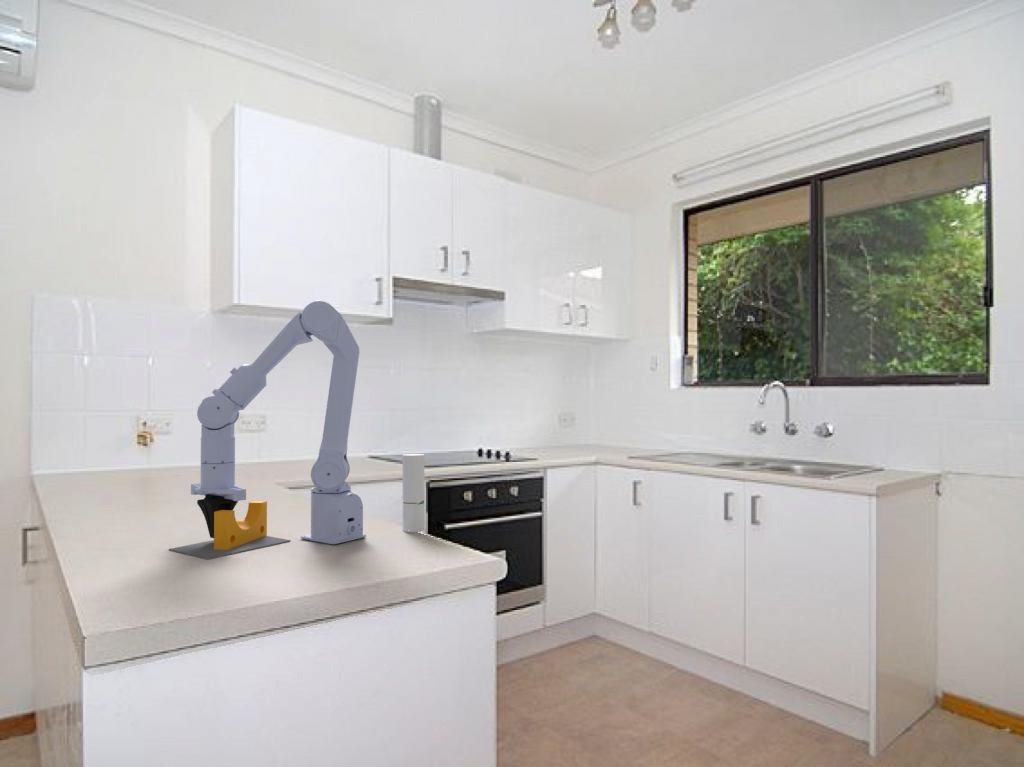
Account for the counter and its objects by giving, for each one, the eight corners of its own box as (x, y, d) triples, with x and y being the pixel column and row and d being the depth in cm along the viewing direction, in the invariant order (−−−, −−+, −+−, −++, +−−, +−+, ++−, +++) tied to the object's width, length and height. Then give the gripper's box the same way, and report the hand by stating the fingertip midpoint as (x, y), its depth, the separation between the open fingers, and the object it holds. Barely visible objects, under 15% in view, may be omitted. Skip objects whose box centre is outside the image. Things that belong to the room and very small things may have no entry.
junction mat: (290, 541, 119) (290, 540, 119) (207, 559, 105) (207, 558, 105) (251, 533, 125) (251, 532, 125) (168, 550, 112) (168, 548, 112)
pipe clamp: (246, 534, 124) (246, 500, 124) (266, 535, 123) (266, 501, 123) (204, 548, 112) (205, 511, 112) (227, 550, 111) (227, 512, 111)
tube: (406, 533, 126) (406, 455, 126) (399, 529, 129) (399, 454, 130) (427, 531, 128) (427, 454, 128) (420, 527, 131) (420, 453, 132)
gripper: (175, 462, 119) (174, 536, 119) (220, 466, 111) (219, 546, 110) (211, 459, 125) (210, 529, 124) (256, 463, 117) (256, 538, 116)
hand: (217, 537), depth 118 cm, fingers closed
